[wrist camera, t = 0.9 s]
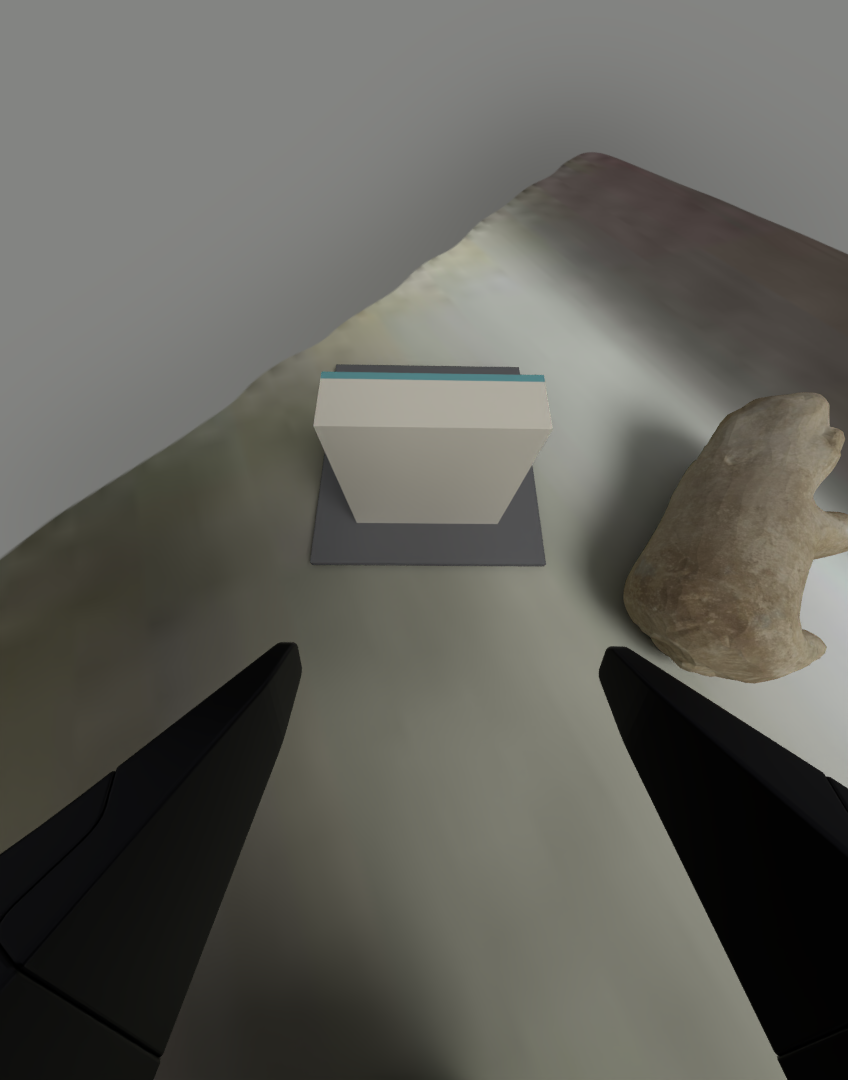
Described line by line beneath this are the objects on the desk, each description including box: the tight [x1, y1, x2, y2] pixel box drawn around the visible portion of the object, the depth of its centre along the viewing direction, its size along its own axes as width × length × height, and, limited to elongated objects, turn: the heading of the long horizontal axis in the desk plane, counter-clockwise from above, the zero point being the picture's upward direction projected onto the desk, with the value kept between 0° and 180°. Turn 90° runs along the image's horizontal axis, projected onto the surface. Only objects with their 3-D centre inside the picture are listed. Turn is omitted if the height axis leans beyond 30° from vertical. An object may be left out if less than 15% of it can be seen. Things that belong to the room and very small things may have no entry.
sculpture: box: [623, 392, 848, 683], centre depth 19 cm, size 9×17×10 cm
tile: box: [313, 372, 553, 524], centre depth 18 cm, size 3×10×10 cm, turn 90°
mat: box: [310, 364, 546, 566], centre depth 25 cm, size 18×16×1 cm
